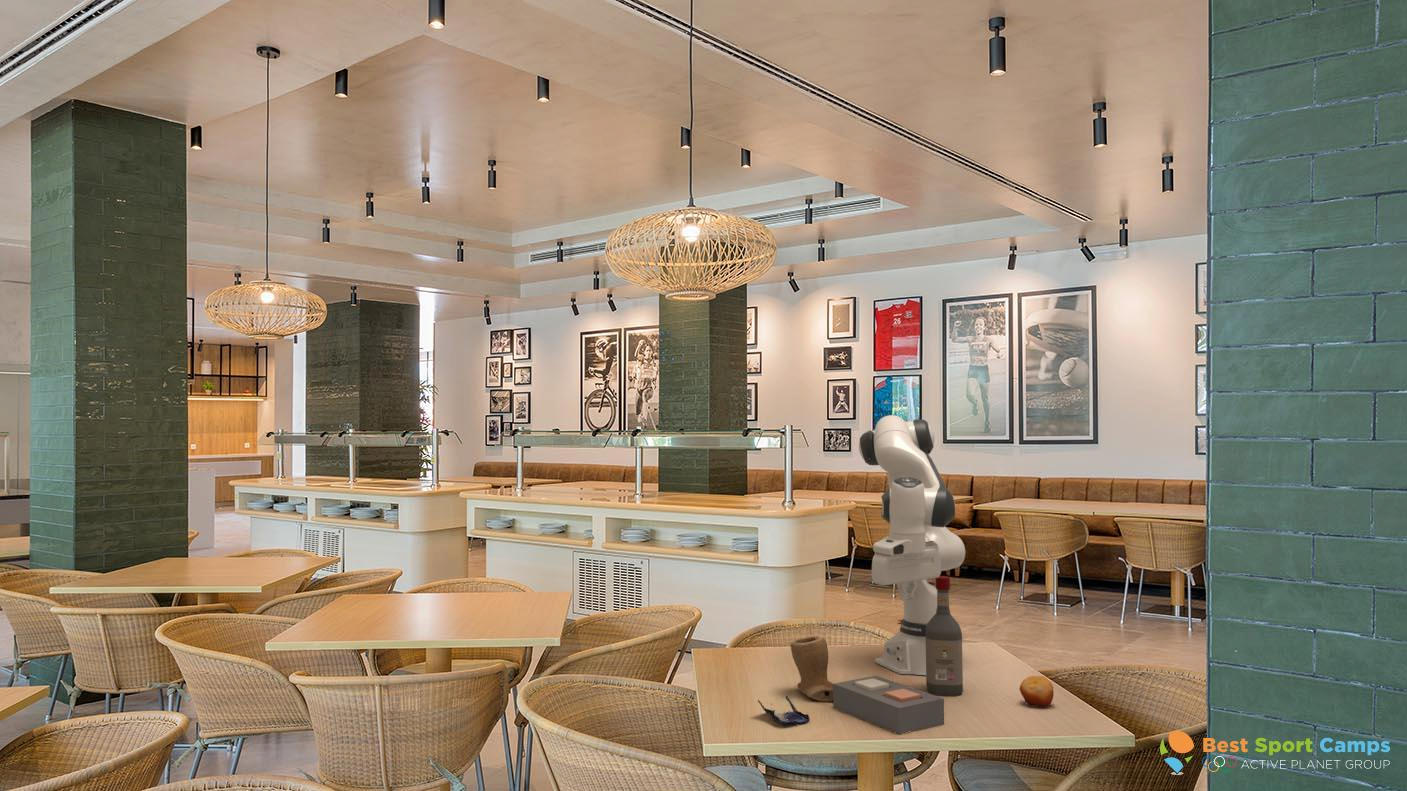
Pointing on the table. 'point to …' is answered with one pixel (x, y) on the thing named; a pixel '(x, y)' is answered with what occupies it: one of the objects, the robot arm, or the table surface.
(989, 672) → the table surface
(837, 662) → the table surface
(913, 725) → the key panel
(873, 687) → the off-white key
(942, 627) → the liquor
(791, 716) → the dark blue forked piece
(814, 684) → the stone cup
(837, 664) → the table surface
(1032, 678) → the fruit
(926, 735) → the table surface
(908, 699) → the terracotta key
